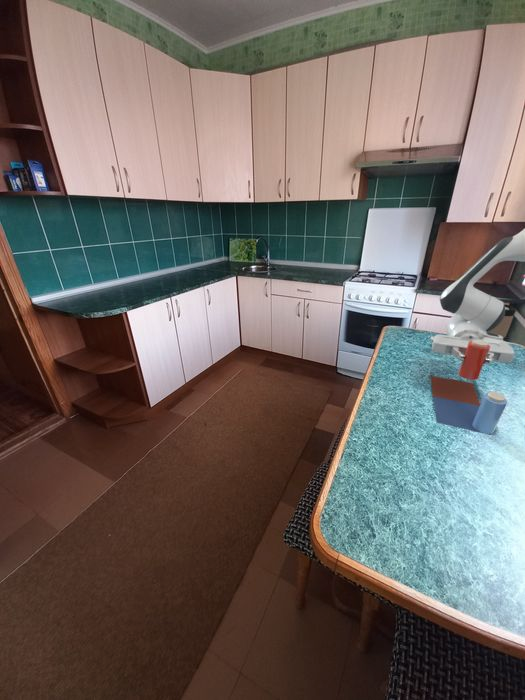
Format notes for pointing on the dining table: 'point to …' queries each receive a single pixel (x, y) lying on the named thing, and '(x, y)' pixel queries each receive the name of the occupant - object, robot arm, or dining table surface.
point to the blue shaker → (489, 412)
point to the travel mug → (504, 322)
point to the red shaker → (474, 359)
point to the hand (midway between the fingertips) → (474, 360)
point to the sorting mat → (455, 402)
